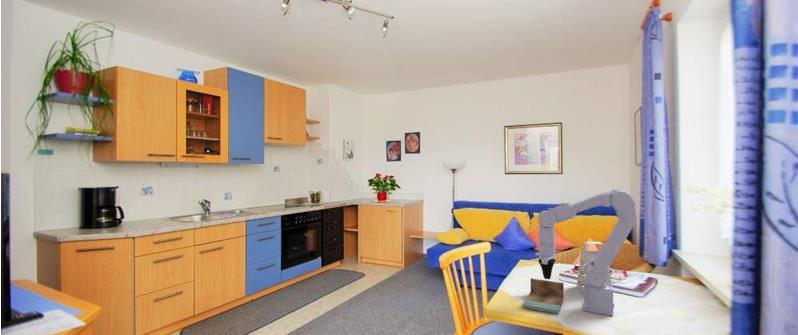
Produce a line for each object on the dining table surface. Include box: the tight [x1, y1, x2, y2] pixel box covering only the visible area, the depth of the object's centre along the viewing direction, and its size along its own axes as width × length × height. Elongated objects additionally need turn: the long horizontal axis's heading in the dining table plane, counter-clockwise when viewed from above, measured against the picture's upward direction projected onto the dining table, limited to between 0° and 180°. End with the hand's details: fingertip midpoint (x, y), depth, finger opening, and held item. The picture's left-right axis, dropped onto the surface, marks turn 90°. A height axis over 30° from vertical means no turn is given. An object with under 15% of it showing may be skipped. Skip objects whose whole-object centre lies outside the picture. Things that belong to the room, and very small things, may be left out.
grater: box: [576, 241, 613, 294], centre depth 149 cm, size 10×10×20 cm
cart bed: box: [525, 278, 565, 310], centre depth 139 cm, size 12×10×6 cm
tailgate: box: [522, 299, 561, 314], centre depth 132 cm, size 12×1×6 cm
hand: (547, 278), depth 137 cm, fingers closed
